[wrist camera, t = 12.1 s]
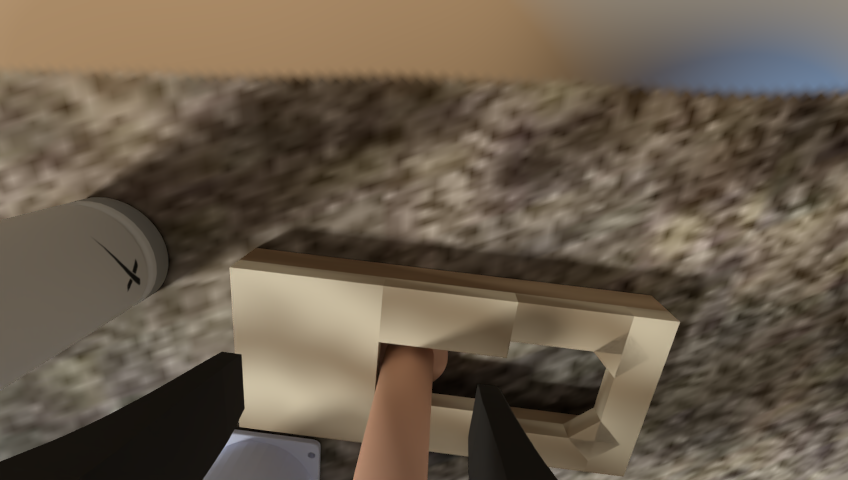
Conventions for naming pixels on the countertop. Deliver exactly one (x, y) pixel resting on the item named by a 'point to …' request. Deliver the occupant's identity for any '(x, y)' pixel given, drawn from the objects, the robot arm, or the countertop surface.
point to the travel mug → (71, 276)
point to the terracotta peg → (400, 414)
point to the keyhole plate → (437, 329)
